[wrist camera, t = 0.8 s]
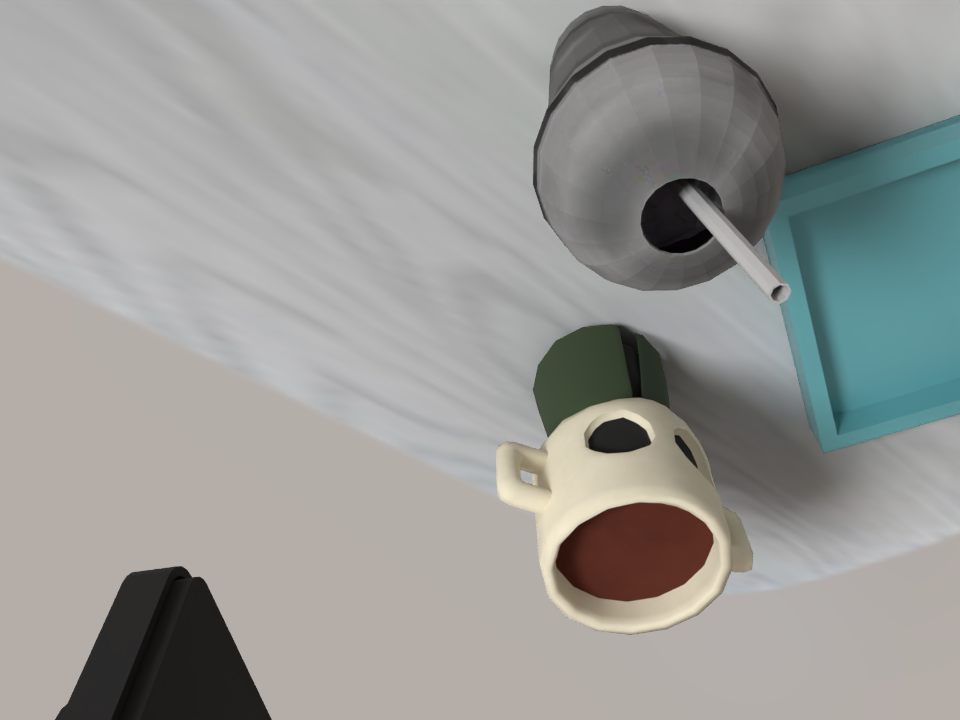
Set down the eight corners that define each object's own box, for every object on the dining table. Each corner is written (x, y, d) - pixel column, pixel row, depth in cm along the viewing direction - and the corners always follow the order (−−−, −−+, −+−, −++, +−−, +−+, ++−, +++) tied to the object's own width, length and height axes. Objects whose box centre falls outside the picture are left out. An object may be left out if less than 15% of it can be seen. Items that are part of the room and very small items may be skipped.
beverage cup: (503, -15, 35) (530, 168, 18) (695, -50, 34) (911, 106, 17) (530, 165, 39) (573, 458, 22) (703, 137, 38) (887, 416, 21)
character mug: (733, 351, 44) (820, 540, 33) (664, 461, 47) (721, 666, 36) (521, 276, 42) (538, 453, 31) (465, 398, 45) (462, 595, 34)
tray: (1086, 70, 37) (1117, 84, 35) (1096, 342, 44) (1123, 365, 42) (751, 187, 39) (764, 206, 38) (810, 427, 46) (823, 453, 44)
